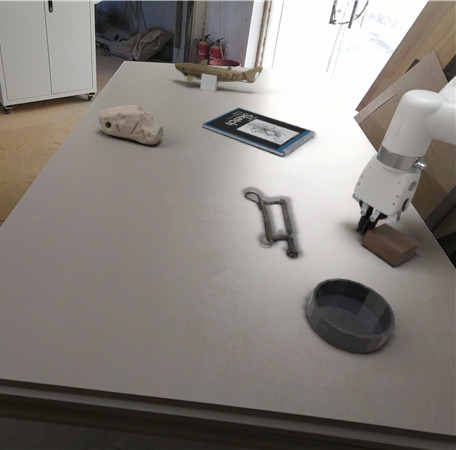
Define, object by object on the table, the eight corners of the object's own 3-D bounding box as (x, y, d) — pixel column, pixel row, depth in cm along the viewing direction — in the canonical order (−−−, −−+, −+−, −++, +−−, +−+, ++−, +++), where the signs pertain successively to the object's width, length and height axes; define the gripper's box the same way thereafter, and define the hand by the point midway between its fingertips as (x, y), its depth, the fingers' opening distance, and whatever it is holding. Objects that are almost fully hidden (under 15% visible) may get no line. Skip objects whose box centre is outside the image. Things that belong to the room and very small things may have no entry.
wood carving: (255, 99, 157) (261, 69, 150) (170, 85, 165) (172, 57, 159) (259, 92, 163) (264, 63, 157) (176, 79, 172) (178, 51, 165)
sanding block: (378, 237, 90) (385, 222, 87) (411, 258, 84) (420, 244, 82) (360, 245, 87) (367, 230, 85) (393, 267, 82) (401, 253, 79)
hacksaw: (298, 260, 82) (299, 254, 82) (247, 254, 83) (248, 248, 83) (285, 196, 102) (286, 191, 101) (243, 192, 102) (245, 187, 102)
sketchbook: (237, 111, 147) (238, 105, 145) (315, 137, 131) (317, 131, 130) (202, 127, 133) (203, 121, 132) (284, 158, 118) (286, 152, 117)
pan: (339, 284, 77) (346, 269, 75) (401, 333, 69) (411, 318, 66) (290, 309, 72) (296, 294, 69) (351, 366, 63) (360, 350, 61)
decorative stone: (95, 135, 125) (94, 104, 119) (107, 126, 131) (106, 96, 125) (155, 149, 119) (157, 117, 113) (165, 139, 125) (167, 108, 119)
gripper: (447, 170, 75) (404, 246, 86) (377, 138, 85) (347, 209, 96) (423, 179, 72) (382, 256, 83) (354, 144, 82) (325, 217, 93)
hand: (363, 230), depth 89 cm, fingers closed
